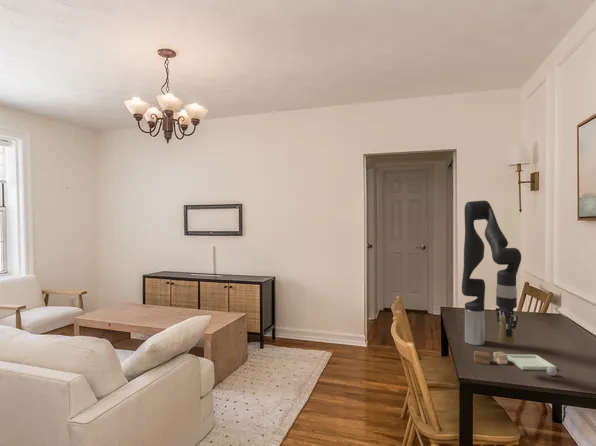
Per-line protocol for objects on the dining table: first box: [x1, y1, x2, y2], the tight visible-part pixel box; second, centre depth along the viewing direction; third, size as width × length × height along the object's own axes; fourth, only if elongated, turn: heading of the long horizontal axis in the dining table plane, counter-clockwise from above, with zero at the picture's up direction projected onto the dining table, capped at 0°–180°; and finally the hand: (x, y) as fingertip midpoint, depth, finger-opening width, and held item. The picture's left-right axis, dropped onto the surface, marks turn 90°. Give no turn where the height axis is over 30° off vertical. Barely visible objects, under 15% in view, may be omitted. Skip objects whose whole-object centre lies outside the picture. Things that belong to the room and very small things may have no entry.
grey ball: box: [546, 367, 558, 377], centre depth 152 cm, size 4×4×4 cm
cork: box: [497, 315, 515, 345], centre depth 156 cm, size 6×6×11 cm
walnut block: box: [473, 350, 491, 365], centre depth 167 cm, size 4×6×4 cm, turn 70°
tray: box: [507, 353, 557, 371], centre depth 164 cm, size 14×14×2 cm
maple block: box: [493, 351, 509, 365], centre depth 167 cm, size 4×4×4 cm
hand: (506, 335), depth 156 cm, fingers closed on cork, 3 cm apart
